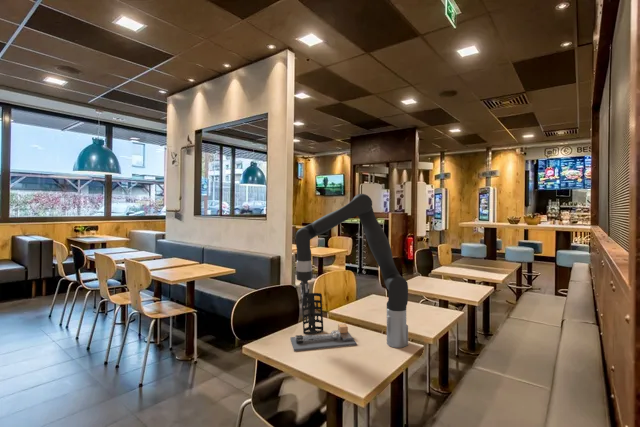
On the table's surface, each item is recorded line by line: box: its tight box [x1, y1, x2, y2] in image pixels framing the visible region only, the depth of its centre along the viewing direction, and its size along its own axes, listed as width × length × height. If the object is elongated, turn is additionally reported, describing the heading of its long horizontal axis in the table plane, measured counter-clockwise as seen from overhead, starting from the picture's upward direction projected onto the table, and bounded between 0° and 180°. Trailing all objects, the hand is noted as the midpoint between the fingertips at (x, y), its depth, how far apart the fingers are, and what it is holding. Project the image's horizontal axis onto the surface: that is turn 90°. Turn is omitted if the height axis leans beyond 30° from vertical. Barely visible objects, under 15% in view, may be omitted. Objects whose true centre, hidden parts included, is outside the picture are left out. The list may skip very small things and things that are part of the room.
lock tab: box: [337, 323, 349, 333], centre depth 172 cm, size 4×4×3 cm
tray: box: [290, 336, 358, 352], centre depth 166 cm, size 30×14×1 cm, turn 102°
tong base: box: [296, 329, 354, 344], centre depth 167 cm, size 27×11×3 cm, turn 102°
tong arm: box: [294, 333, 333, 340], centre depth 165 cm, size 19×3×1 cm, turn 102°
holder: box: [301, 292, 324, 335], centre depth 179 cm, size 11×8×20 cm
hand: (304, 305), depth 163 cm, fingers closed
